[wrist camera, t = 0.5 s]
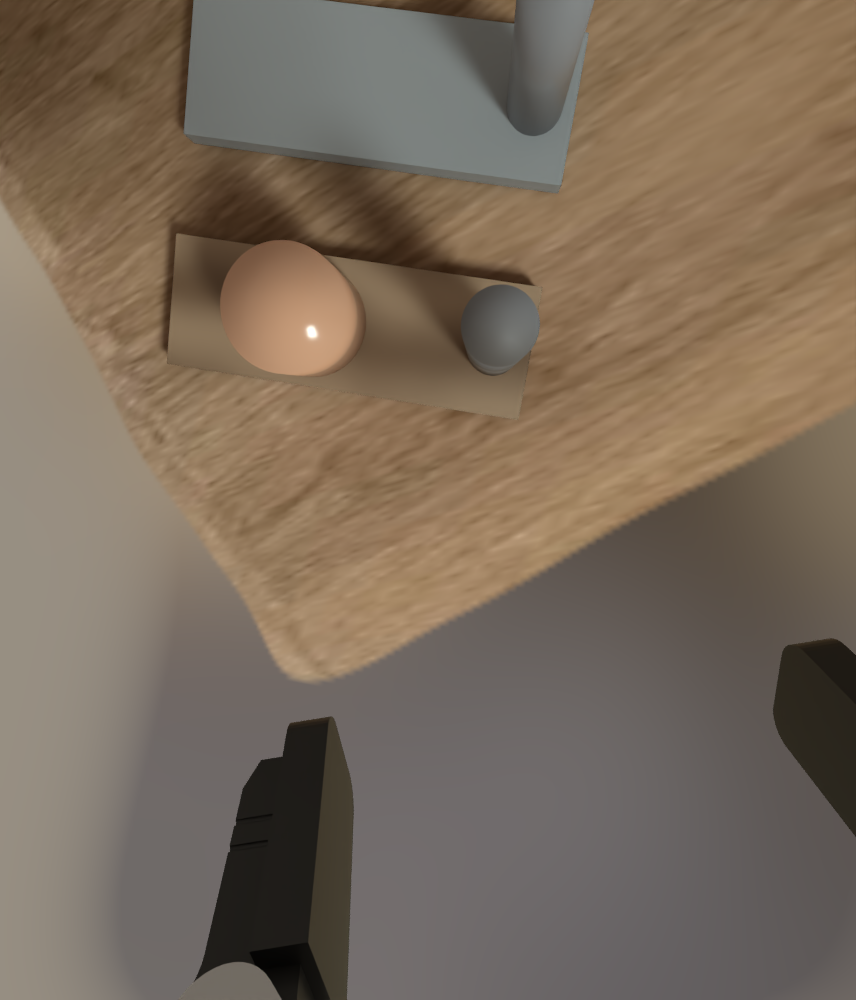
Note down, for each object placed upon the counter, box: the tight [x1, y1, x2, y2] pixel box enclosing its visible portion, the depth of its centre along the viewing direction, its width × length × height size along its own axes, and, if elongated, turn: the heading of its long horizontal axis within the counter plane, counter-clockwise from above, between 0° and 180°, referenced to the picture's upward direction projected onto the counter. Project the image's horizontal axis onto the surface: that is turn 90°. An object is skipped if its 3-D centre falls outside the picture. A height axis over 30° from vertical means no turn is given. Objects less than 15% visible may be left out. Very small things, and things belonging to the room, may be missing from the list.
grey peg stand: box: [184, 0, 594, 193], centre depth 26 cm, size 7×20×12 cm, turn 81°
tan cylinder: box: [220, 240, 366, 377], centre depth 30 cm, size 6×6×5 cm
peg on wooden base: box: [167, 233, 542, 420], centre depth 28 cm, size 7×20×12 cm, turn 81°
